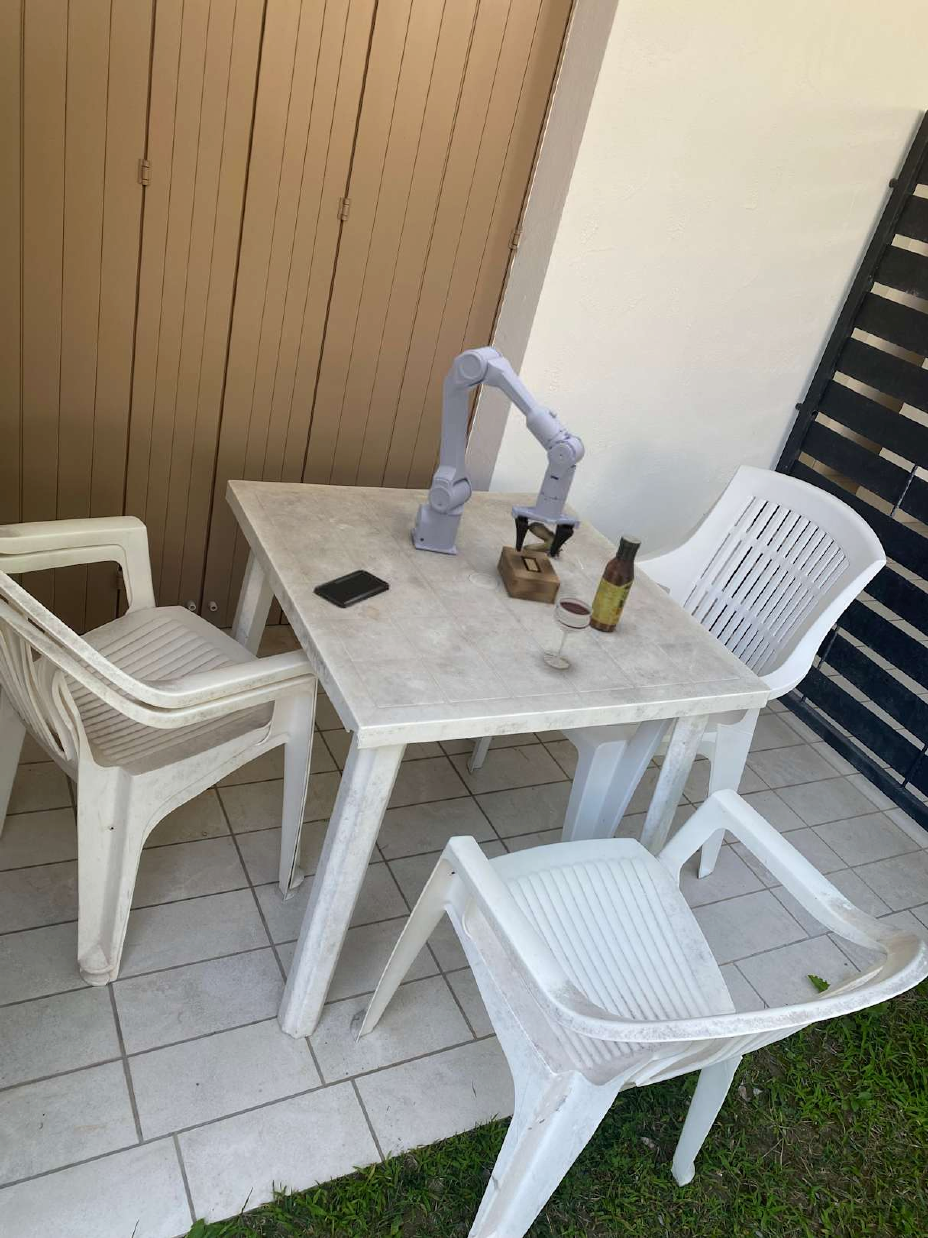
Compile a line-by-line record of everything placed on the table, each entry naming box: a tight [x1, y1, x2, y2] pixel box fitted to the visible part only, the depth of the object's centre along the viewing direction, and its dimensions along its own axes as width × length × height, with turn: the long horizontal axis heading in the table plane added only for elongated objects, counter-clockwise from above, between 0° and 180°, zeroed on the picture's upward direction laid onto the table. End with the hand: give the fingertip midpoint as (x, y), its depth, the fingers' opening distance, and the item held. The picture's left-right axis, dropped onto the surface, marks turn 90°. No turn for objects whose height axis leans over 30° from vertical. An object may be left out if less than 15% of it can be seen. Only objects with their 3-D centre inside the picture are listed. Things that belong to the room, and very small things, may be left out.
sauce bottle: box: [589, 534, 642, 632], centre depth 188 cm, size 6×6×20 cm
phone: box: [313, 569, 391, 609], centre depth 180 cm, size 8×1×15 cm
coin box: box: [497, 545, 562, 605], centre depth 200 cm, size 10×14×5 cm
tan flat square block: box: [523, 559, 538, 572], centre depth 200 cm, size 2×5×5 cm, turn 9°
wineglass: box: [543, 596, 593, 669], centre depth 172 cm, size 7×7×12 cm
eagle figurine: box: [522, 521, 567, 557], centre depth 217 cm, size 8×7×9 cm
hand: (534, 552), depth 197 cm, fingers open, 7 cm apart
